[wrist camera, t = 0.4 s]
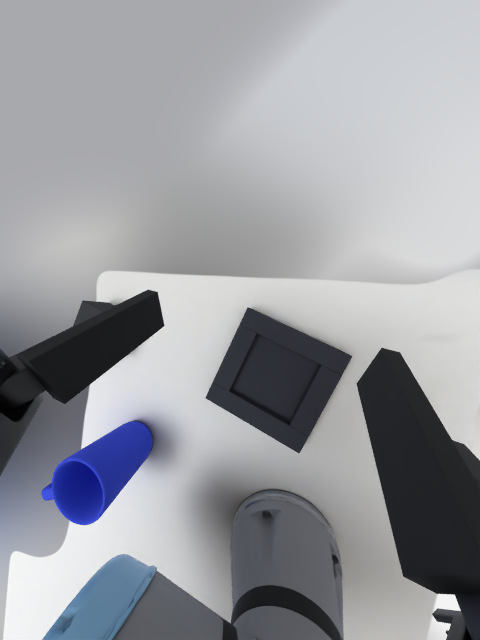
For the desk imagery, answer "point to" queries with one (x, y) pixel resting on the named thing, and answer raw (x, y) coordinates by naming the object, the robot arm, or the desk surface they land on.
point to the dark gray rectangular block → (90, 310)
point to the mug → (98, 473)
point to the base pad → (277, 378)
